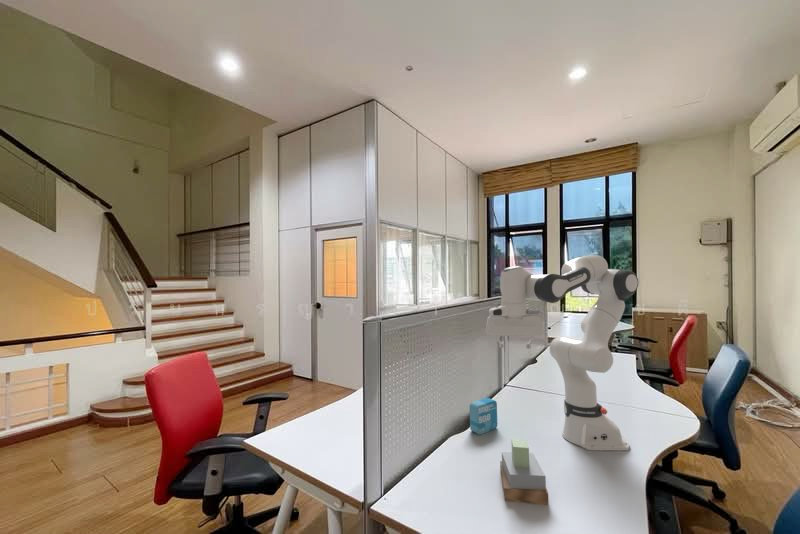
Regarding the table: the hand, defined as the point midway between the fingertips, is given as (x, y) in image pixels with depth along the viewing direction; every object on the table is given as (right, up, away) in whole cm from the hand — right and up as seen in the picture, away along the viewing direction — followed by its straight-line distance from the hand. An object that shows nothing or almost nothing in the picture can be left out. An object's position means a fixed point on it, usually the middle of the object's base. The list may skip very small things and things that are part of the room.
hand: (514, 347), depth 119 cm
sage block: (-5, -31, -18) cm, 36 cm away
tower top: (-4, -35, -18) cm, 40 cm away
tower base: (-4, -39, -18) cm, 44 cm away
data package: (-6, -40, +19) cm, 45 cm away
